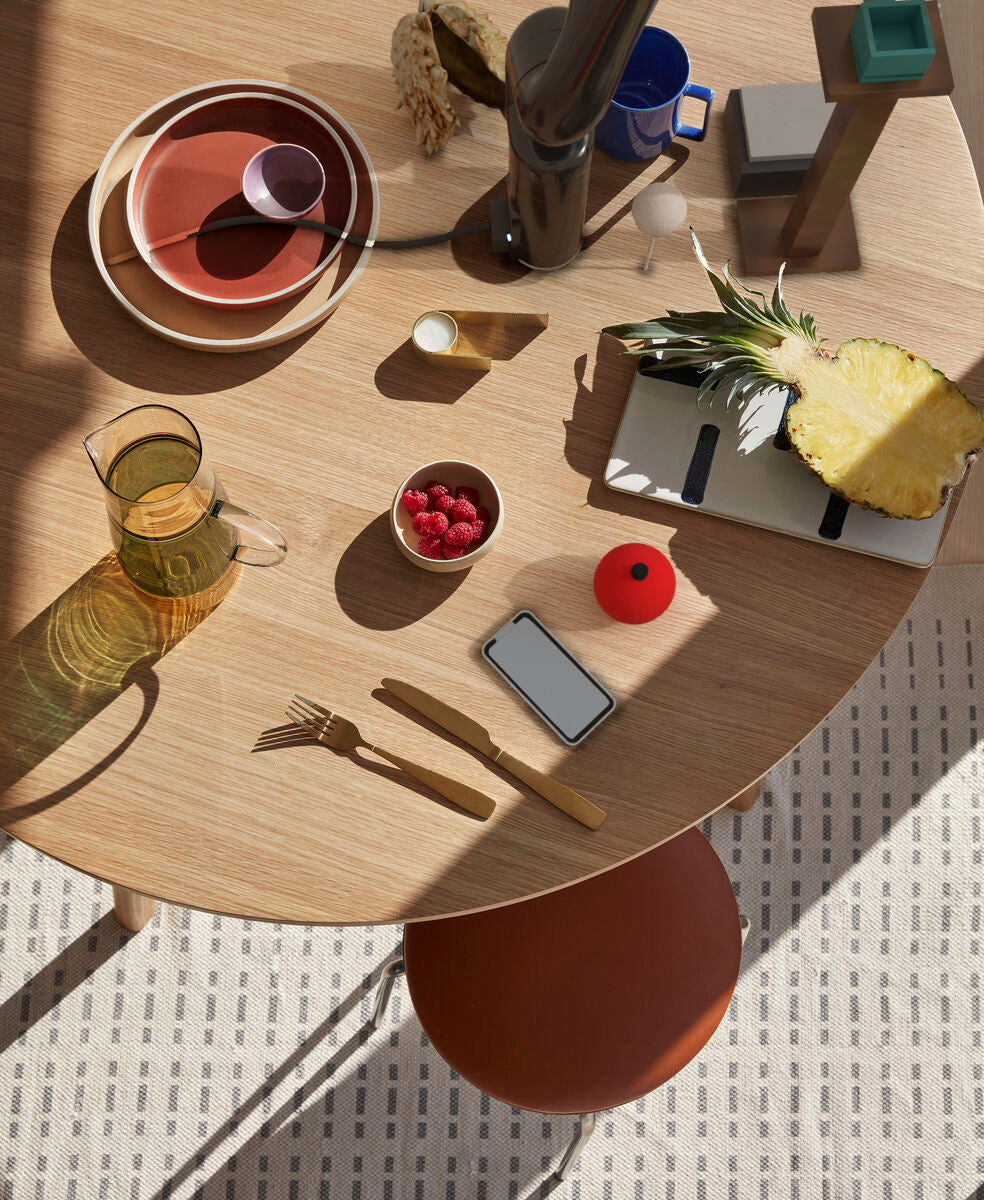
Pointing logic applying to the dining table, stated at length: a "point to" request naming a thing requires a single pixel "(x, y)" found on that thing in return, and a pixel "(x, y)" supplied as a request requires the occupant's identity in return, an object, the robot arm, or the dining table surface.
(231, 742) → the dining table surface
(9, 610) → the dining table surface
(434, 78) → the seashell
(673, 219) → the lollipop
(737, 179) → the scale
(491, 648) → the smartphone
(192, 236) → the robot arm
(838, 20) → the wooden pedestal stand
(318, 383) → the dining table surface
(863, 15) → the scoop
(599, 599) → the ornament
